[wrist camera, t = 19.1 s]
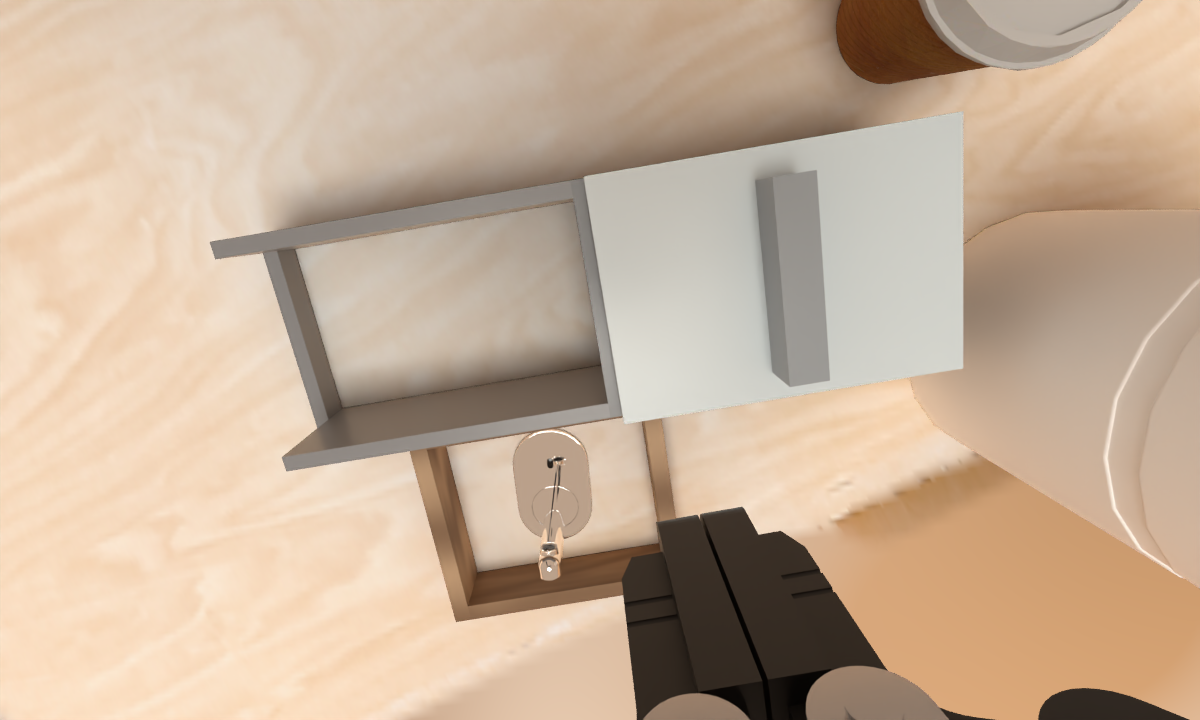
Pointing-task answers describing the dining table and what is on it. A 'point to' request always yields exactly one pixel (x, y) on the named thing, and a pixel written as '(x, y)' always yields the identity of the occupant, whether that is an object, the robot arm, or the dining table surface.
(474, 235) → the dining table surface
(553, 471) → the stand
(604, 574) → the parts frame
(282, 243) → the frame
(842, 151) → the lid
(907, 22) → the disposable coffee cup
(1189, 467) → the canister
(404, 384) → the dining table surface
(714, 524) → the robot arm
